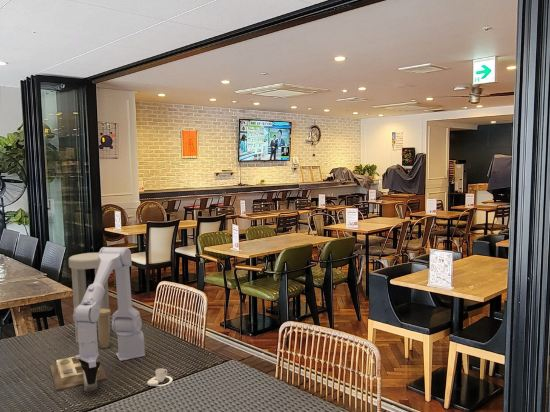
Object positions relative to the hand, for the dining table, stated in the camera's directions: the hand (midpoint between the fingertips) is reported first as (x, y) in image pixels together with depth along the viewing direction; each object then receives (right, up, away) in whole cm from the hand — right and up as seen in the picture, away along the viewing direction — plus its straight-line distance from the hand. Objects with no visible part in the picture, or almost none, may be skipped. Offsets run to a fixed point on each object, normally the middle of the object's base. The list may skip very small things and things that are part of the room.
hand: (90, 380), depth 159 cm
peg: (0, -3, 0) cm, 3 cm away
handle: (-8, 0, +36) cm, 37 cm away
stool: (-17, +1, +48) cm, 51 cm away
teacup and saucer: (+19, -3, +5) cm, 20 cm away
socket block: (-9, -2, +12) cm, 15 cm away
